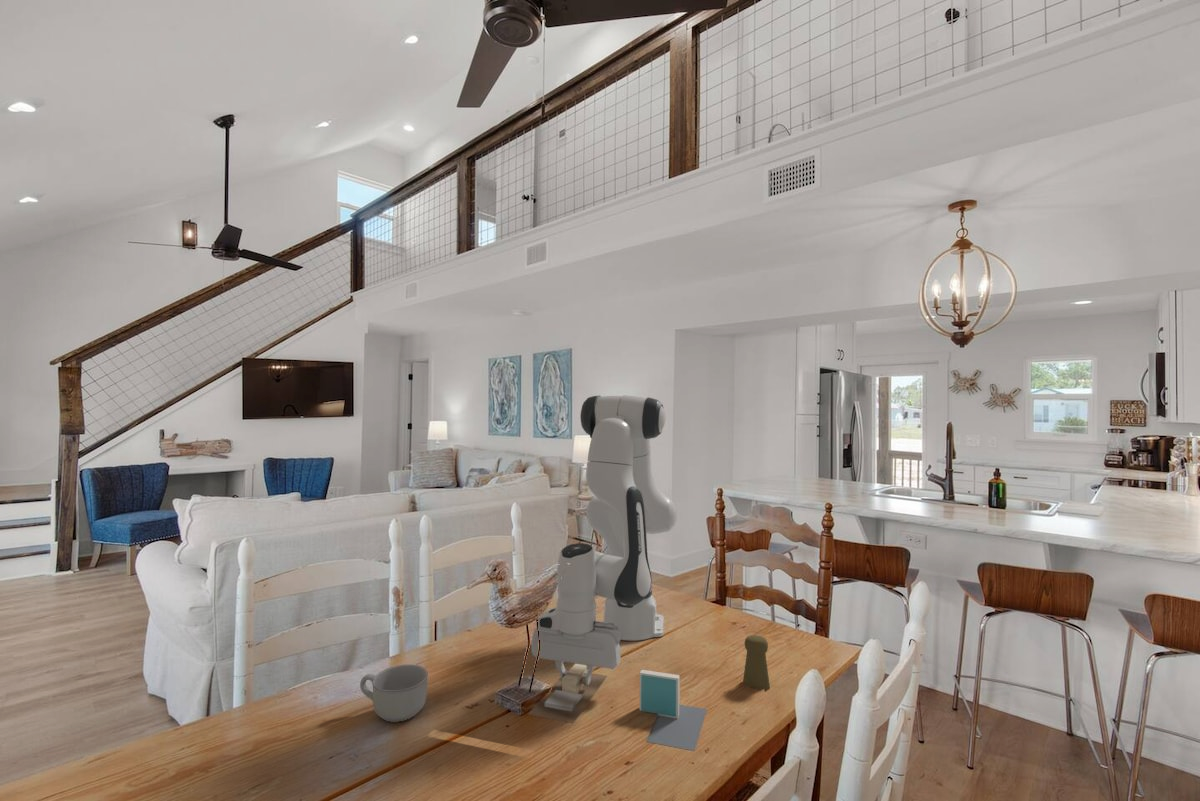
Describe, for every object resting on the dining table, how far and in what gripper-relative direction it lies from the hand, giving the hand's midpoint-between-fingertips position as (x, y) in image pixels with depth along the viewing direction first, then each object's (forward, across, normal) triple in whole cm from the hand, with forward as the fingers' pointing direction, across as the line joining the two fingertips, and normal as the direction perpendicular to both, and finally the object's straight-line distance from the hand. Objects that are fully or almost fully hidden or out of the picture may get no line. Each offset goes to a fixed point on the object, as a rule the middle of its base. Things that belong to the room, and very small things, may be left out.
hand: (575, 681), depth 130 cm
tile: (+2, -20, +4) cm, 20 cm away
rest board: (+2, 0, +3) cm, 4 cm away
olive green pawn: (+3, -38, -17) cm, 42 cm away
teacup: (+3, +32, +21) cm, 38 cm away
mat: (+2, -20, +7) cm, 21 cm away
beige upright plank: (+1, 0, +3) cm, 3 cm away
